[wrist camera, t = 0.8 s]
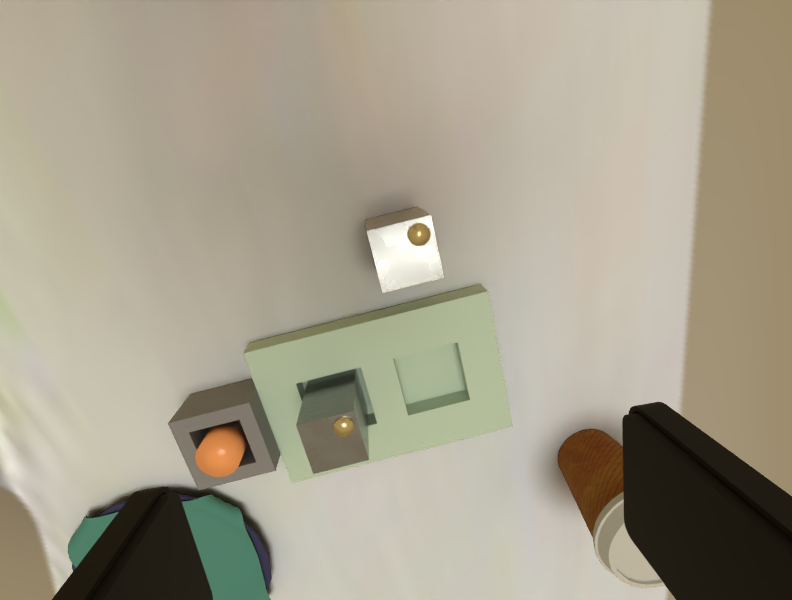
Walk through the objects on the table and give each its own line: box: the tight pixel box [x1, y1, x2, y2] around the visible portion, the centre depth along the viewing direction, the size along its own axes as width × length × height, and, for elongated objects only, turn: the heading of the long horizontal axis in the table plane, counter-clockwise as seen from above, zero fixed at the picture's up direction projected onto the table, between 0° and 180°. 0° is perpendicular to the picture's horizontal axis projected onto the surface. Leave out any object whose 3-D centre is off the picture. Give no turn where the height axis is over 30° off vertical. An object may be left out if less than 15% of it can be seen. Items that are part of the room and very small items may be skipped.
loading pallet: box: [168, 284, 513, 490], centre depth 40 cm, size 29×14×5 cm, turn 104°
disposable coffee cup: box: [558, 429, 665, 588], centre depth 41 cm, size 10×10×12 cm
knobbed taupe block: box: [366, 207, 444, 293], centre depth 34 cm, size 5×5×8 cm
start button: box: [195, 421, 248, 477], centre depth 37 cm, size 4×4×3 cm
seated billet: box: [296, 368, 369, 474], centre depth 38 cm, size 5×5×8 cm
